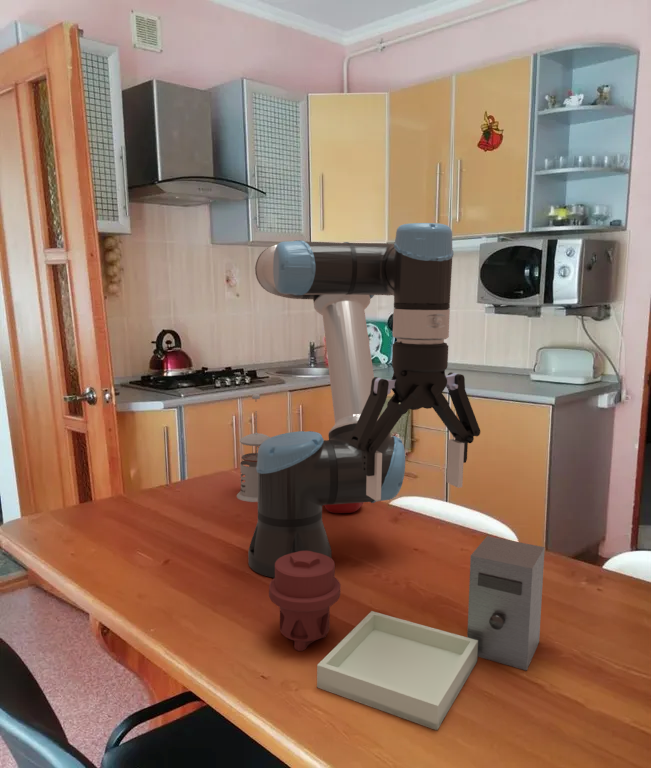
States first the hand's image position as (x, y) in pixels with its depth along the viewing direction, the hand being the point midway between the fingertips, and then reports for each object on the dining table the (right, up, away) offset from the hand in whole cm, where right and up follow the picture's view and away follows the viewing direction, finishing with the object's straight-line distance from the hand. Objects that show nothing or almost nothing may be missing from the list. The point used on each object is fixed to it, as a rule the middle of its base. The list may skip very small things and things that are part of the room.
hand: (415, 491), depth 89 cm
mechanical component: (-16, -21, 0) cm, 26 cm away
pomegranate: (-9, -14, +55) cm, 57 cm away
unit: (+12, -21, -2) cm, 25 cm away
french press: (-29, -12, +65) cm, 72 cm away
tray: (-3, -22, -8) cm, 24 cm away
